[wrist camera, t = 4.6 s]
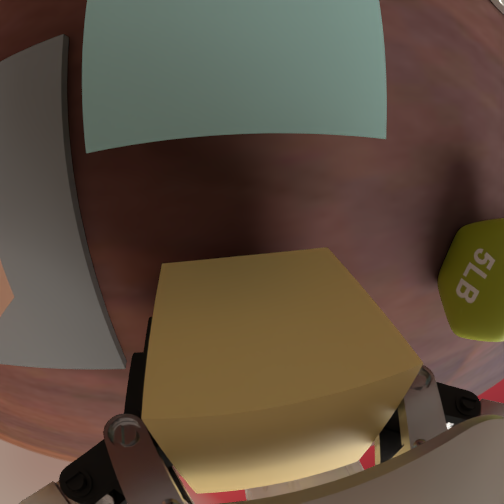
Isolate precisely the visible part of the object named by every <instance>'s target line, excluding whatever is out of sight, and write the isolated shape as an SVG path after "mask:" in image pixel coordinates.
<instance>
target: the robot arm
mask: <svg viewBox="0 0 504 504" xmlns="http://www.w3.org/2000/svg"><path fill="white" fill-rule="evenodd" d="M490 1H491V2H492V3H493V4H494V5H495V6H496V7H497V8H498V9H499V10H500V11H501V12H502V13H503V14H504V0H490ZM151 324H152V317H150V318H149V321H148V327H147V333H146V340H145V347H144V352H140V353H134V354H133V356H132V361H131V367H130V373H129V380H128V387H127V394H126V402H125V410H124V414H119V415H116V416H114V417H112V418H111V419H110V420H109V421H108V422H107V423H106V425H105V427H104V431H103V435H104V440H102V441H101V442H100V443H98V444H97V445H96V446H94V447H93V448H92V449H90V450H89V451H88V452H86V453H85V454H83V455H82V456H81V457H79V458H78V459H77V460H75V461H74V462H72V463H71V464H70V465H68V466H67V467H66V468H65V469H64V470H63V471H62V472H61V474H60V478H59V481H58V482H56V483H55V482H53V481H52V482H51V483H49V484H48V485H46V486H45V487H43V488H42V489H40V490H39V491H37V492H36V493H34V494H32V495H31V496H29V497H27V498H26V499H24V500H22V501H21V502H20V503H19V504H194V502H193V501H192V499H191V498H190V496H189V494H188V492H187V490H186V489H185V487H184V485H183V483H182V482H181V480H180V478H179V476H178V474H177V473H176V471H175V469H174V467H173V464H172V463H171V461H170V460H169V459H168V457H167V456H166V455H165V453H164V452H163V450H162V449H161V448H160V446H159V445H158V443H157V442H156V440H155V439H154V437H153V436H152V435H151V433H150V432H149V430H148V428H147V427H146V425H145V424H144V422H143V421H142V419H141V417H142V403H143V391H144V380H145V371H146V362H147V353H148V346H149V338H150V331H151ZM222 504H504V403H499V402H494V401H490V400H485V399H481V400H480V401H479V399H478V397H477V396H476V395H475V394H474V393H472V392H470V391H467V390H463V389H459V388H456V387H452V386H449V385H445V384H442V383H438V382H436V380H435V377H434V375H433V373H432V371H431V370H430V369H429V368H427V367H426V366H424V365H422V367H421V369H420V371H419V372H418V374H417V376H416V378H415V379H414V381H413V383H412V385H411V386H410V388H409V390H408V391H407V393H406V395H405V396H404V398H403V399H402V401H401V403H400V404H399V406H398V407H397V409H396V410H395V412H394V413H393V415H392V416H391V418H390V419H389V421H388V422H387V424H386V425H385V426H384V428H383V429H382V431H381V432H380V433H379V435H378V436H377V437H376V439H375V466H373V467H371V468H368V469H366V470H363V471H361V472H358V473H355V474H353V475H350V476H347V477H344V478H341V479H338V480H335V481H332V482H328V483H325V484H322V485H318V486H315V487H311V488H307V489H303V490H299V491H295V492H291V493H286V494H282V495H277V496H272V497H266V498H260V499H254V500H247V501H240V502H232V503H222Z"/></svg>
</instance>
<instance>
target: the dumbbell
mask: <svg viewBox="0 0 504 504" xmlns="http://www.w3.org/2000/svg"><path fill="white" fill-rule="evenodd" d="M438 289H439V294H440V297H441V301H442V304H443V307H444V310H445V313H446V316H447V319H448V322H449V325H450V327H451V329H452V331H453V332H454V333H455V334H456V335H457V336H459V337H463V338H467V339H472V340H479V341H489V342H500V341H504V218H499V219H491V220H485V221H480V222H475V223H471V224H468V225H465V226H463V227H462V228H460V229H459V231H458V232H457V233H456V235H455V237H454V239H453V241H452V244H451V246H450V248H449V251H448V253H447V255H446V257H445V260H444V262H443V265H442V267H441V270H440V272H439V276H438Z"/></svg>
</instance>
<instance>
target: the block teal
mask: <svg viewBox="0 0 504 504" xmlns="http://www.w3.org/2000/svg"><path fill="white" fill-rule="evenodd" d="M82 106H83V124H84V137H85V147H86V153H91V152H96V151H100V150H106V149H111V148H116V147H122V146H128V145H134V144H141V143H148V142H155V141H163V140H171V139H180V138H190V137H201V136H214V135H231V134H256V133H307V134H332V135H348V136H361V137H372V138H382V139H386V121H387V91H386V64H385V49H384V37H383V27H382V19H381V11H380V4H379V0H87V6H86V14H85V24H84V35H83V52H82Z"/></svg>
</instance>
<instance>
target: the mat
mask: <svg viewBox="0 0 504 504" xmlns="http://www.w3.org/2000/svg"><path fill="white" fill-rule="evenodd" d="M68 45H69V37H68V36H66V35H64V34H62V35H59V36H57V37H54V38H51V39H49V40H46V41H44V42H41V43H39V44H36V45H34V46H32V47H29V48H27V49H25V50H23V51H21V52H18V53H16V54H14V55H12V56H10V57H8V58H6V59H4V60H2V61H1V62H0V260H1V263H2V266H3V269H4V272H5V274H6V277H7V280H8V282H9V285H10V287H11V290H12V292H13V295H14V298H13V300H12V301H11V303H10V304H9V305H8V307H7V308H6V309H5V311H4V312H3V314H2V315H1V317H0V364H6V365H16V366H26V367H40V368H58V369H125V368H126V362H127V361H126V358H125V356H124V354H123V351H122V349H121V346H120V344H119V341H118V339H117V336H116V334H115V331H114V328H113V326H112V323H111V320H110V318H109V315H108V312H107V309H106V306H105V303H104V300H103V297H102V294H101V291H100V288H99V285H98V281H97V278H96V275H95V271H94V268H93V264H92V260H91V257H90V253H89V249H88V245H87V241H86V237H85V232H84V228H83V223H82V219H81V214H80V209H79V203H78V198H77V192H76V186H75V180H74V173H73V165H72V157H71V148H70V138H69V125H68V105H67V64H68Z"/></svg>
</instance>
